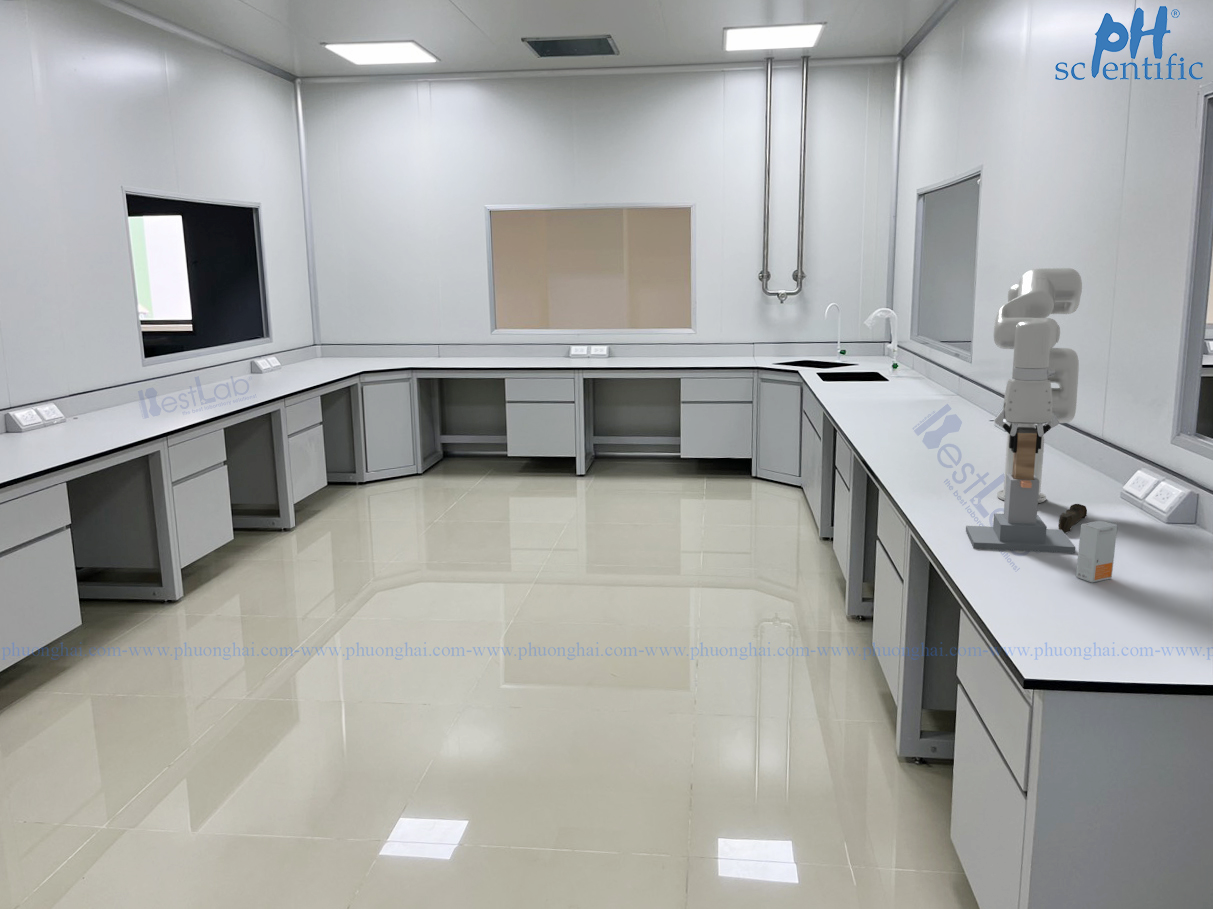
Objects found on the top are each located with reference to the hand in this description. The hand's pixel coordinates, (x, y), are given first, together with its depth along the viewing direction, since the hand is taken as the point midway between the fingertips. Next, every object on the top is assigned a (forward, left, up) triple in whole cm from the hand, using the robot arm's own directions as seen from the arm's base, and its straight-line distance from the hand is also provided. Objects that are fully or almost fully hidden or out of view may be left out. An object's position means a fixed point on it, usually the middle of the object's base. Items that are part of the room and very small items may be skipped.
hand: (1024, 451), depth 217 cm
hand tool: (-16, +15, -23) cm, 32 cm away
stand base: (0, 0, -22) cm, 22 cm away
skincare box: (+24, +11, -23) cm, 35 cm away
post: (0, 0, -11) cm, 11 cm away
